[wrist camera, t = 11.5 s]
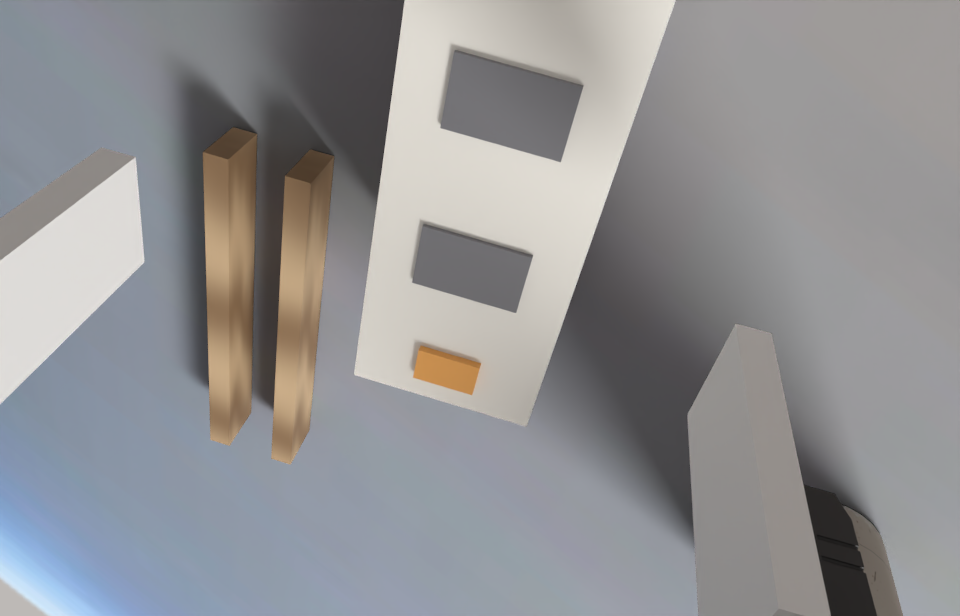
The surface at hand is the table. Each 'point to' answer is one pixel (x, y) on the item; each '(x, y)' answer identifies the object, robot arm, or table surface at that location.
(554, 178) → the power strip
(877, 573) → the thermos bottle
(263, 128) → the table surface
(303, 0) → the table surface
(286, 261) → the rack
